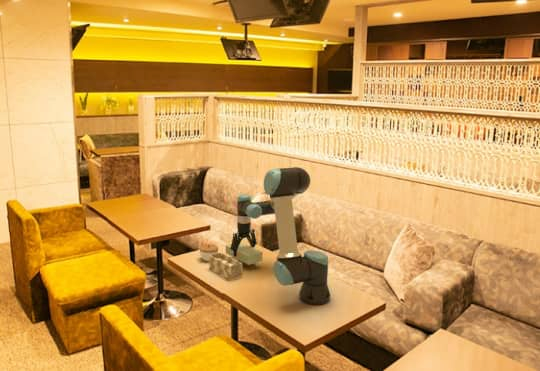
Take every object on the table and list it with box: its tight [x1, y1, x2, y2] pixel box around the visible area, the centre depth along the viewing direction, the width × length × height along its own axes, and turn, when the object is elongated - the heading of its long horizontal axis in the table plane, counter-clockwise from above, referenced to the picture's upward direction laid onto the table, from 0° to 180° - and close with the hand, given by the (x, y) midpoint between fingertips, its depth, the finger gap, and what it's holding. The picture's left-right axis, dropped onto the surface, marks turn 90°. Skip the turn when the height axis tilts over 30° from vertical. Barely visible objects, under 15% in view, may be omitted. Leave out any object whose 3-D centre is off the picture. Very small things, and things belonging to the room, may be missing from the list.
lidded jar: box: [199, 243, 219, 263], centre depth 269 cm, size 11×11×9 cm
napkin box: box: [208, 252, 243, 282], centre depth 251 cm, size 20×8×8 cm, turn 40°
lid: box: [225, 242, 264, 266], centre depth 264 cm, size 22×10×5 cm, turn 40°
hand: (243, 259), depth 265 cm, fingers closed on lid, 10 cm apart
